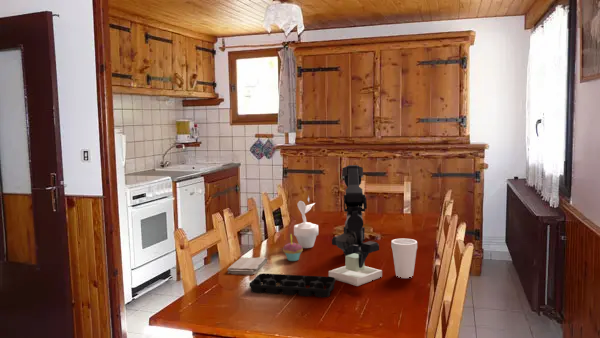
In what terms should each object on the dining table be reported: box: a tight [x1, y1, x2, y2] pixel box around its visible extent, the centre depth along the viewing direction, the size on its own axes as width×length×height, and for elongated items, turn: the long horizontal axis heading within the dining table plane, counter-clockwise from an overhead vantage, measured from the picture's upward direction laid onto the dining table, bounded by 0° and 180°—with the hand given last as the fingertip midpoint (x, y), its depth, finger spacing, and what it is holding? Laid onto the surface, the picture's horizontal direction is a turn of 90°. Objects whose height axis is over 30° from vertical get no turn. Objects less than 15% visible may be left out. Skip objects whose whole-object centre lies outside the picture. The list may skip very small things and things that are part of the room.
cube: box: [344, 253, 366, 272], centre depth 186 cm, size 5×5×5 cm
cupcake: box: [282, 233, 304, 262], centre depth 212 cm, size 9×8×12 cm
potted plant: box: [293, 194, 319, 249], centre depth 232 cm, size 13×12×25 cm
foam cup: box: [390, 237, 418, 279], centre depth 186 cm, size 10×9×13 cm
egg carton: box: [248, 273, 336, 298], centre depth 175 cm, size 18×30×4 cm, turn 88°
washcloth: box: [227, 256, 268, 276], centre depth 202 cm, size 12×18×3 cm, turn 169°
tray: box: [328, 265, 383, 287], centre depth 186 cm, size 14×14×2 cm
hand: (355, 266), depth 186 cm, fingers closed on cube, 5 cm apart
